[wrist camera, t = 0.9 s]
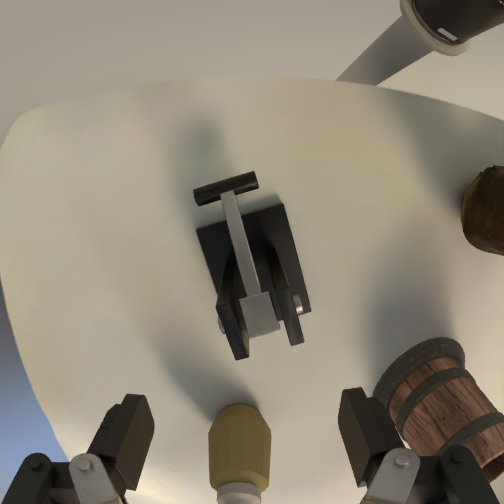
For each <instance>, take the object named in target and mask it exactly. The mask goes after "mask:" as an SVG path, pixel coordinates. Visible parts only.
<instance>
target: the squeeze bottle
mask: <svg viewBox="0 0 504 504" xmlns="http://www.w3.org/2000/svg"><path fill="white" fill-rule="evenodd" d="M208 435H209V474H210V484H211V487H212V488H213V489H215V490H216V491H217V502H218V504H261V492H263V491H265V490H266V488H267V487H268V486H269V471H270V453H271V430H270V428H269V427H268V425H267V423H266V422H265V420H264V419H263V417H262V415H261V414H260V412H259V411H258V410H257V409H255V408H254V407H252V406H249V405H244V404H235V405H231V406H228V407H226V408H224V409H223V410H222V411H221V412H220V414H219V415H218V417H217V418H216V420H215V421H214V423H213V424H212V426H211V428H210V431H209V433H208Z"/></svg>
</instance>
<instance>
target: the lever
mask: <svg viewBox="0 0 504 504" xmlns="http://www.w3.org/2000/svg"><path fill="white" fill-rule="evenodd" d="M258 188H259V185H258V181H257V178H256V175H255V172H254V171H252V172H248V173H245V174H241V175H238V176H235V177H231V178H228V179H225V180H222V181H218V182H215V183H212V184H209V185H206V186H203V187H200V188H197V189H194V190H193V194H194V198H195V201H196V203H197V205H198V206H202V205H206V204H209V203H212V202H215V201H218V200H221V201H222V205H223V209H224V213H225V217H226V220H227V224H228V228H229V232H230V236H231V239H232V243H233V247H234V251H235V254H236V258H237V262H238V266H239V269H240V273H241V277H242V280H243V284H244V288H245V291H246V295H247V297H246V298H242V299H239V304H240V308H241V311H242V315H243V318H244V322H245V326H246V329H247V333H248V337H249V338H254V337H257V336H261V335H265V334H269V333H272V332H276V331H279V330H280V324H279V320H278V317H277V313H276V310H275V306H274V302H273V299H272V295H271V293H270V292H269V291H267V292H264V293H263V292H262V289H261V285H260V281H259V278H258V274H257V271H256V267H255V263H254V260H253V256H252V253H251V249H250V246H249V242H248V238H247V235H246V231H245V228H244V224H243V220H242V217H241V213H240V210H239V206H238V202H237V199H236V195H238V194H241V193H245V192H248V191H252V190H255V189H258Z"/></svg>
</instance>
